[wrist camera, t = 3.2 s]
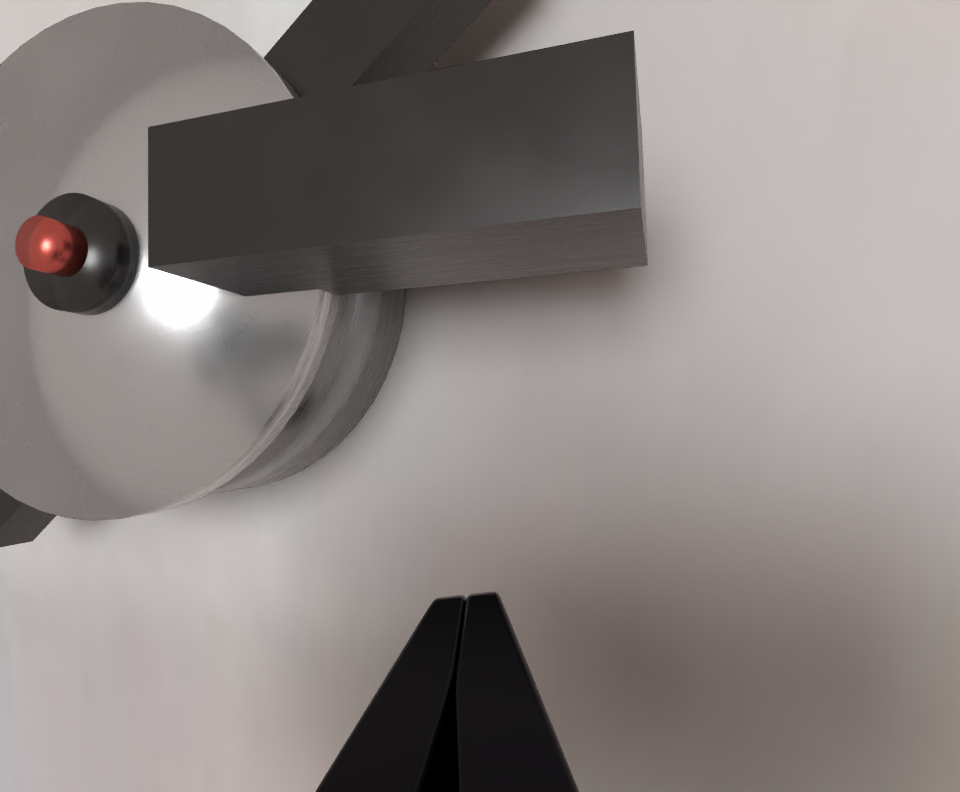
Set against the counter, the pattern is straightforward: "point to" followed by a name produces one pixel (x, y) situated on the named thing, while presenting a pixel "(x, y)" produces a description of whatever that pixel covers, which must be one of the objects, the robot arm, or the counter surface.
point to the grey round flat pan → (360, 317)
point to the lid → (260, 231)
